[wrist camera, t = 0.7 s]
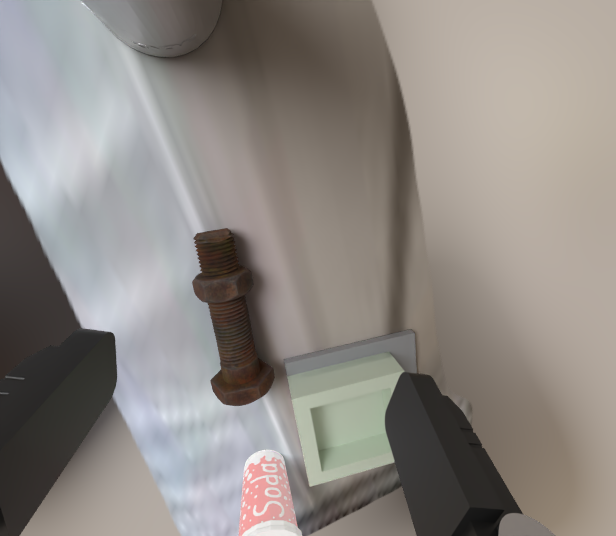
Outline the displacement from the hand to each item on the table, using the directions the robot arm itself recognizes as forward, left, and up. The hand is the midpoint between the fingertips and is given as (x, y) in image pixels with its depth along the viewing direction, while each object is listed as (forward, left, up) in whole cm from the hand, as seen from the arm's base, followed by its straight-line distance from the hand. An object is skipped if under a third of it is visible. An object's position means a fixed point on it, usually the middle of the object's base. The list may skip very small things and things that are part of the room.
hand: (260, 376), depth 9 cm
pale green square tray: (+20, +8, -21) cm, 30 cm away
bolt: (+6, -3, -21) cm, 22 cm away
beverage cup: (+26, -4, -21) cm, 34 cm away
